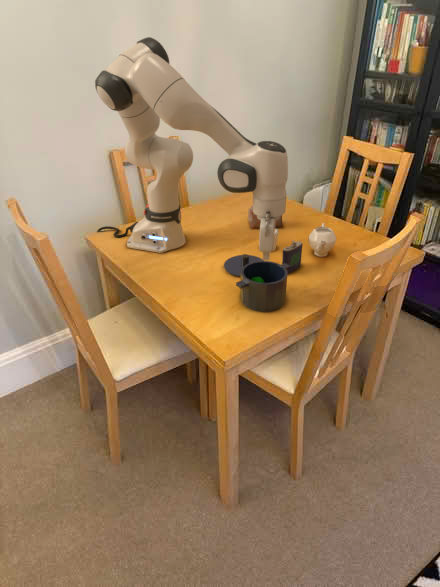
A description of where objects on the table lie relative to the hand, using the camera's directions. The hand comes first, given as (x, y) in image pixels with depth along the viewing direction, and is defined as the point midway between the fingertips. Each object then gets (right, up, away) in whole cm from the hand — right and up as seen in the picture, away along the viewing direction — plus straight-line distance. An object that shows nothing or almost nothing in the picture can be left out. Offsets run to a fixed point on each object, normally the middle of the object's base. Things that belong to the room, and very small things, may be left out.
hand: (267, 250), depth 120 cm
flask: (+11, -4, +23) cm, 25 cm away
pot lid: (-5, -3, +24) cm, 25 cm away
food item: (+5, +16, +53) cm, 56 cm away
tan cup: (+4, +5, +36) cm, 37 cm away
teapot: (+23, +2, +32) cm, 39 cm away
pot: (0, -14, +8) cm, 16 cm away
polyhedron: (-1, -12, +8) cm, 14 cm away
